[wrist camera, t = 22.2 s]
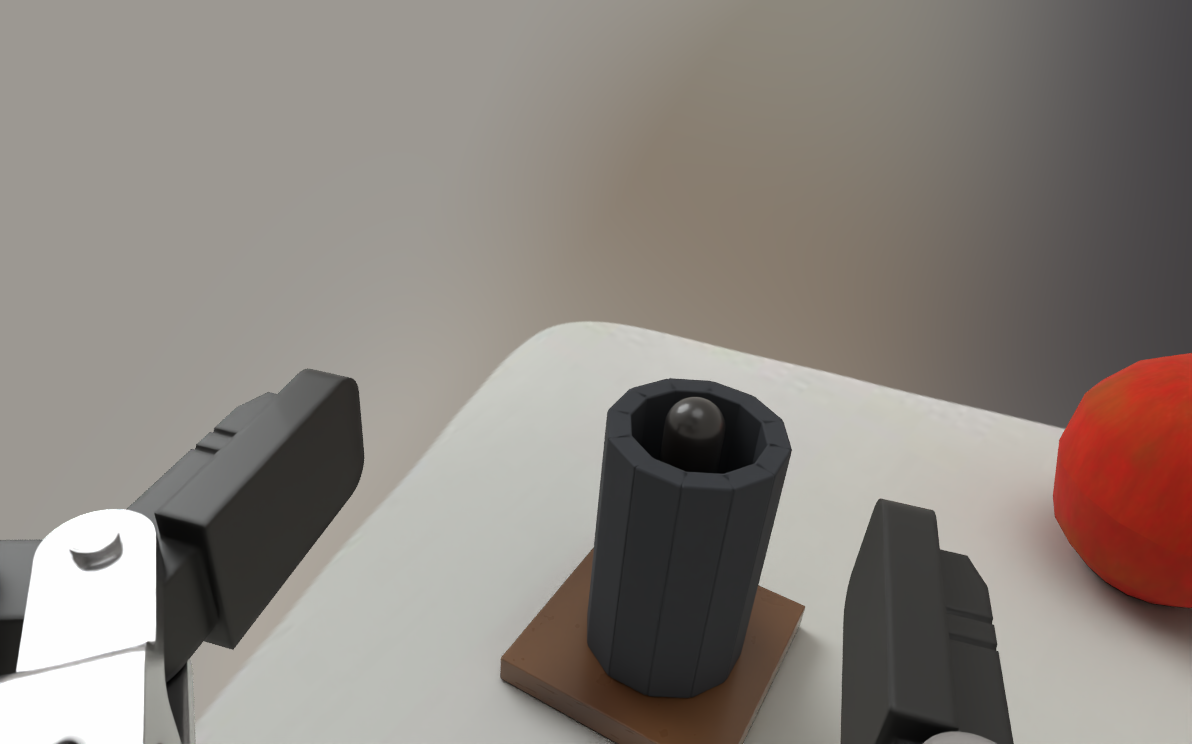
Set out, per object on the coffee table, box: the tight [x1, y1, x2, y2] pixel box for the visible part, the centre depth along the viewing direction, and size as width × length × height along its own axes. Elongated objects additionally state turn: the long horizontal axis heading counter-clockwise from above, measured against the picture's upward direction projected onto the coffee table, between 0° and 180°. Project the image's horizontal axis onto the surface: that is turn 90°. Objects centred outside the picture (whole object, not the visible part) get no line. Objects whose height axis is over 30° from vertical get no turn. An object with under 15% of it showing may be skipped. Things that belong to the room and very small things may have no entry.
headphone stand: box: [500, 397, 805, 744], centre depth 31 cm, size 9×9×12 cm
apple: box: [1053, 353, 1192, 608], centre depth 38 cm, size 10×10×12 cm
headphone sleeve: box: [587, 378, 792, 698], centre depth 31 cm, size 6×6×10 cm
